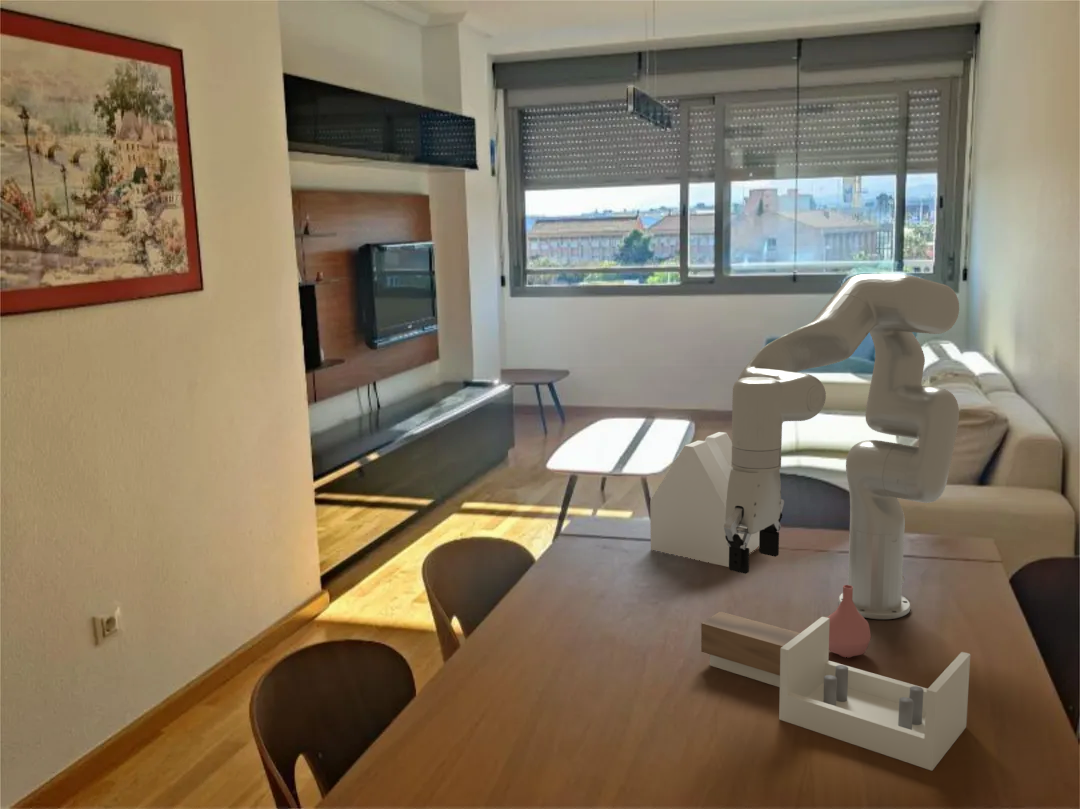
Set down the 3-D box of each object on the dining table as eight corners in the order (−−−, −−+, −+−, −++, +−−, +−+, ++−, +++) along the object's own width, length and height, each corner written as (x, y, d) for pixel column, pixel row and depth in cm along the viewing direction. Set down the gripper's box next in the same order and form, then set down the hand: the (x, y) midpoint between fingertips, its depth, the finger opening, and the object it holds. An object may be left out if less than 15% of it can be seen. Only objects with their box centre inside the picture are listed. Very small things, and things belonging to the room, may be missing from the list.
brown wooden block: (719, 639, 164) (720, 611, 163) (808, 665, 154) (809, 635, 153) (701, 651, 159) (701, 623, 158) (791, 679, 149) (792, 648, 148)
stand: (820, 683, 153) (822, 616, 151) (966, 727, 139) (970, 654, 136) (779, 719, 142) (780, 648, 140) (932, 770, 128) (936, 692, 126)
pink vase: (870, 647, 165) (872, 580, 162) (870, 667, 158) (872, 597, 155) (823, 642, 167) (824, 576, 165) (820, 661, 160) (822, 592, 158)
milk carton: (650, 550, 216) (649, 440, 211) (685, 531, 227) (685, 427, 223) (729, 567, 204) (730, 451, 199) (761, 546, 216) (762, 437, 211)
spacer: (722, 656, 163) (722, 642, 162) (799, 680, 154) (800, 665, 153) (709, 665, 160) (709, 651, 159) (788, 689, 151) (788, 675, 150)
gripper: (761, 444, 159) (758, 544, 162) (706, 465, 146) (704, 573, 149) (803, 450, 154) (800, 553, 157) (750, 472, 141) (748, 584, 144)
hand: (754, 562), depth 153 cm, fingers open, 9 cm apart
